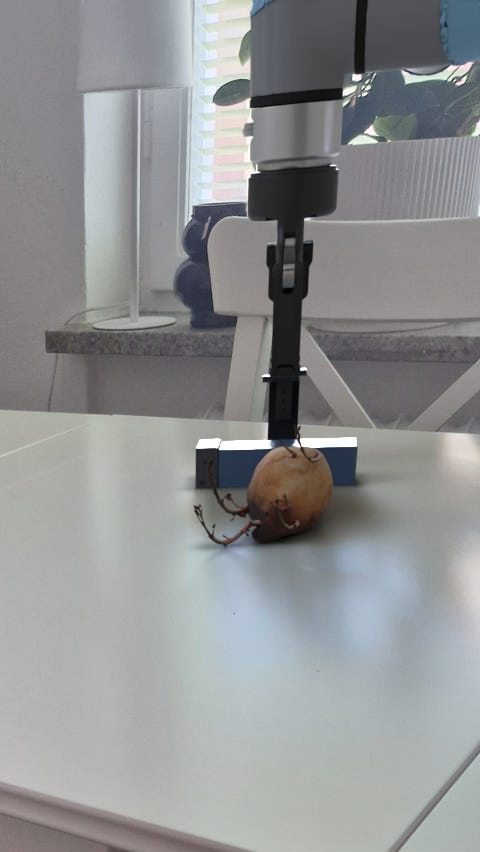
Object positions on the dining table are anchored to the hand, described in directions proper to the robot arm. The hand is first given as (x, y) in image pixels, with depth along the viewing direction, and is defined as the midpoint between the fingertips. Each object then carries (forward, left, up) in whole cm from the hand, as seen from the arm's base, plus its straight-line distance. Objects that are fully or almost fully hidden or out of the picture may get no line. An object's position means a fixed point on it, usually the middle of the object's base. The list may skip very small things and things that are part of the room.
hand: (281, 452), depth 110 cm
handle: (0, +6, -2) cm, 6 cm away
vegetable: (+1, +18, -2) cm, 19 cm away
